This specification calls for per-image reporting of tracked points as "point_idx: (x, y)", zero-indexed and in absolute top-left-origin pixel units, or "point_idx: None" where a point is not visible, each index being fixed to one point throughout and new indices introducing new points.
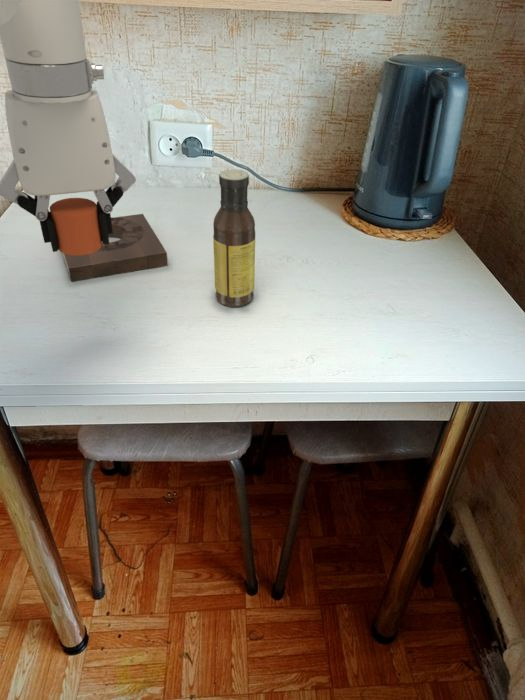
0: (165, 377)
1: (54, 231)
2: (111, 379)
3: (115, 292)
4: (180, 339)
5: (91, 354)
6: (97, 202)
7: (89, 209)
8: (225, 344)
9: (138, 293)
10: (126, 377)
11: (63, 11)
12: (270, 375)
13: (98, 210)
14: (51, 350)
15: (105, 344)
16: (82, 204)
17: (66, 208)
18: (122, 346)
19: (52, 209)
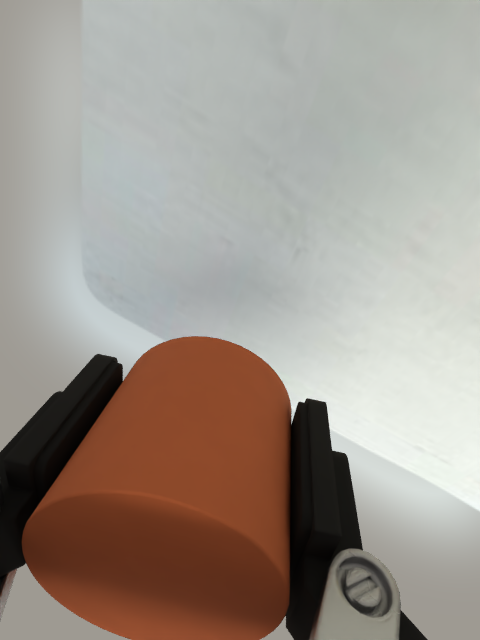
0: None
1: None
2: None
3: (379, 85)
4: (393, 349)
5: (226, 302)
6: (308, 594)
7: (224, 636)
8: (453, 401)
9: (432, 127)
10: None
11: None
12: (450, 483)
13: (295, 568)
14: (162, 253)
15: (260, 289)
16: (208, 591)
17: (110, 585)
18: (286, 311)
19: (36, 562)
